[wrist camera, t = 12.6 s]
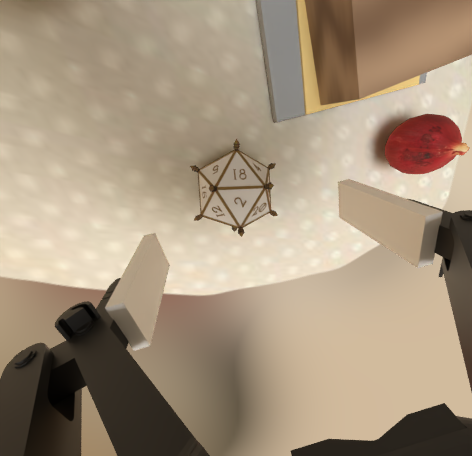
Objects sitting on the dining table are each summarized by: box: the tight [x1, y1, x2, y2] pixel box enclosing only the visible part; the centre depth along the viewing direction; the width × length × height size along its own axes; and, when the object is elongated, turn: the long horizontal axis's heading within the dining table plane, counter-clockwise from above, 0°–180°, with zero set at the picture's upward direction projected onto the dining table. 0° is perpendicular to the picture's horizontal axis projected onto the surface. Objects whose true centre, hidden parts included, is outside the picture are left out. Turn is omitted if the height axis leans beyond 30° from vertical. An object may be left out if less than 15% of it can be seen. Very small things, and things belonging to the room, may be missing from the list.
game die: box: [190, 139, 278, 237], centre depth 22 cm, size 9×8×10 cm
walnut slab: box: [305, 0, 472, 105], centre depth 17 cm, size 10×10×6 cm
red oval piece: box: [385, 114, 469, 174], centre depth 23 cm, size 6×6×8 cm
